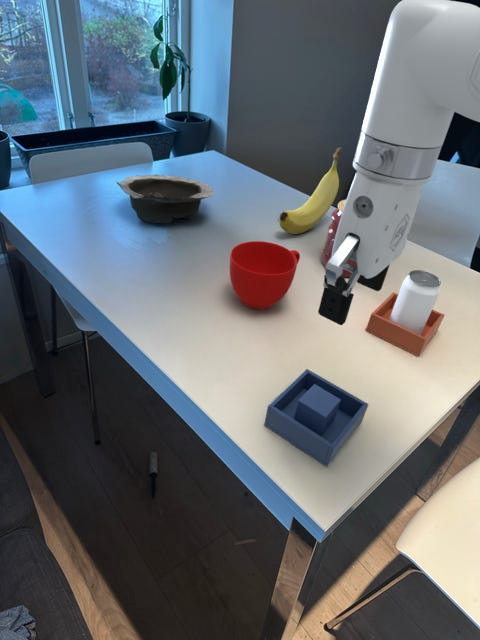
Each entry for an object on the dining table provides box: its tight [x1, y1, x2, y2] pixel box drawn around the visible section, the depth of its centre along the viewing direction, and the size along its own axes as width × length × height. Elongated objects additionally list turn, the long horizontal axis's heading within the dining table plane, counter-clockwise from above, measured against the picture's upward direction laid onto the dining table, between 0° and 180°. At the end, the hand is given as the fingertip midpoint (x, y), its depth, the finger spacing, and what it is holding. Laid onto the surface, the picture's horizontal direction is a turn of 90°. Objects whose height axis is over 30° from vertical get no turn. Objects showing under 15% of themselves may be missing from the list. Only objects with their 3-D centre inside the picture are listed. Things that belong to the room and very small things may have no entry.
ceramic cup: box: [229, 240, 301, 310], centre depth 89 cm, size 13×17×10 cm
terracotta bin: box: [365, 291, 446, 357], centre depth 87 cm, size 11×11×4 cm
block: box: [294, 384, 341, 436], centre depth 65 cm, size 4×4×4 cm
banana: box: [278, 146, 343, 235], centre depth 115 cm, size 23×6×20 cm, turn 138°
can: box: [389, 269, 442, 335], centre depth 83 cm, size 6×6×12 cm
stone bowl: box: [116, 174, 215, 224], centre depth 118 cm, size 25×25×9 cm
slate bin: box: [263, 368, 370, 468], centre depth 65 cm, size 11×11×4 cm
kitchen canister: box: [321, 198, 357, 278], centre depth 102 cm, size 13×13×18 cm
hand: (350, 301), depth 53 cm, fingers open, 9 cm apart
